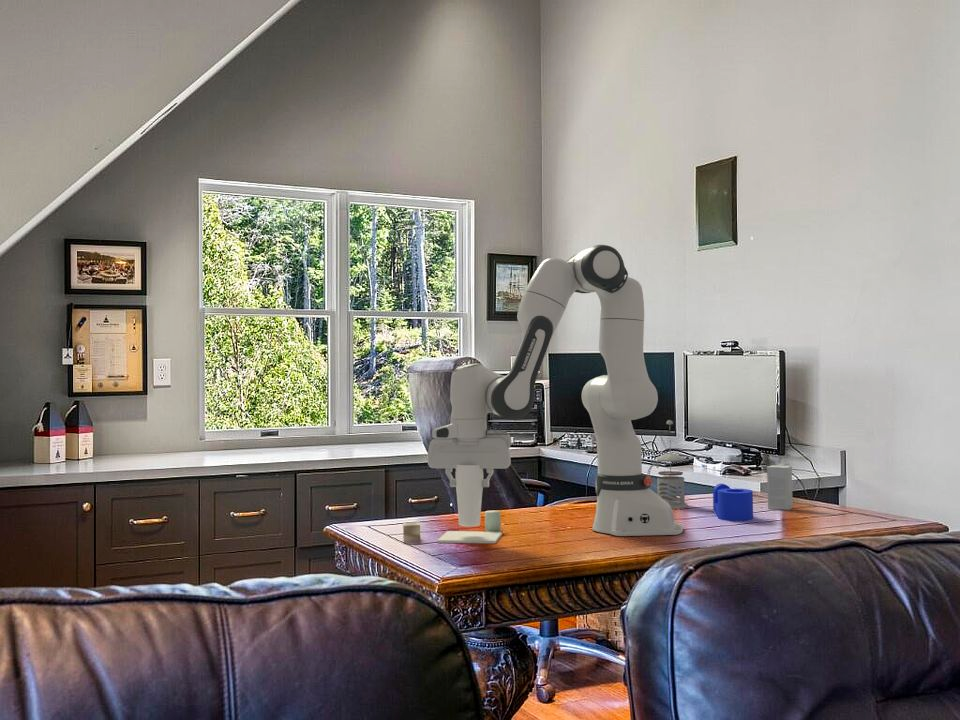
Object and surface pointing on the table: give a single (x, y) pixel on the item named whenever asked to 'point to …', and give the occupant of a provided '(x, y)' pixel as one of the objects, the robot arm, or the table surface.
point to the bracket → (732, 503)
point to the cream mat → (469, 537)
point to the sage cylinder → (492, 521)
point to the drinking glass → (469, 494)
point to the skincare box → (779, 487)
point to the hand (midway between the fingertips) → (469, 486)
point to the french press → (670, 480)
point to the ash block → (411, 531)
